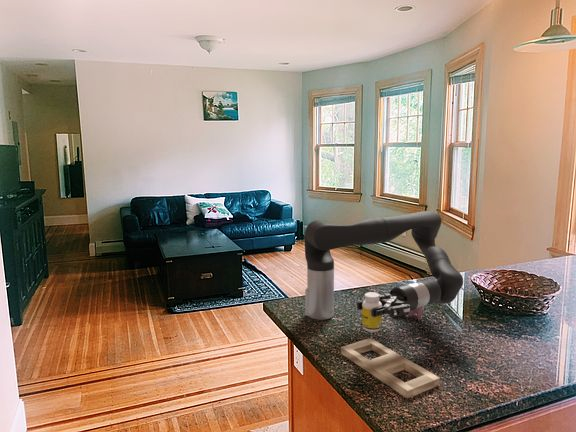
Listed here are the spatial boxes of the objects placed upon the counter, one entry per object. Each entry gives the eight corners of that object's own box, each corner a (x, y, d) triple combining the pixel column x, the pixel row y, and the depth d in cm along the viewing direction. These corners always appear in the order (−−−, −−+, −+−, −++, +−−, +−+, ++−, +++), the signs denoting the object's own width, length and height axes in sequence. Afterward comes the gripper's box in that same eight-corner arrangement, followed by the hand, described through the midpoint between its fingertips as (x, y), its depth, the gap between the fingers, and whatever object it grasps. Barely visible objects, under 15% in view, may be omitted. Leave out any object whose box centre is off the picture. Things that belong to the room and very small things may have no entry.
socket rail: (340, 353, 126) (340, 347, 126) (370, 344, 131) (370, 338, 131) (407, 398, 104) (407, 390, 104) (439, 385, 109) (439, 377, 109)
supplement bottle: (359, 324, 124) (360, 291, 122) (378, 323, 125) (379, 290, 123) (364, 332, 119) (365, 298, 117) (384, 331, 119) (384, 297, 117)
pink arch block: (421, 321, 151) (422, 300, 153) (421, 320, 147) (422, 299, 149) (392, 318, 154) (393, 298, 156) (391, 316, 150) (392, 296, 152)
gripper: (392, 278, 133) (348, 288, 125) (429, 291, 121) (383, 304, 112) (391, 301, 134) (348, 313, 126) (428, 317, 122) (382, 332, 114)
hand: (365, 309), depth 119 cm, fingers closed on supplement bottle, 5 cm apart
